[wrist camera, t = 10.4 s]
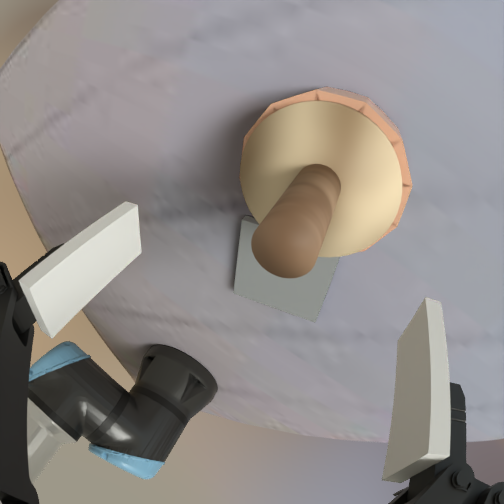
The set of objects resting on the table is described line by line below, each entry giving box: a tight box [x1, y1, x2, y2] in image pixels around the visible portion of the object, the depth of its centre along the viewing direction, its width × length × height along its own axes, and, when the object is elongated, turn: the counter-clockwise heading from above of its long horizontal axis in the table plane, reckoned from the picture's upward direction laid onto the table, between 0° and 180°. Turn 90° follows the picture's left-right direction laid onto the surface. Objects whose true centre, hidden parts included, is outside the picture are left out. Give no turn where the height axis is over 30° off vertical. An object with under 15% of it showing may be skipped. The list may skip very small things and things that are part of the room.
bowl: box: [239, 87, 412, 252], centre depth 23 cm, size 12×12×6 cm
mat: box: [233, 215, 340, 322], centre depth 33 cm, size 10×10×1 cm
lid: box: [240, 100, 402, 278], centre depth 17 cm, size 11×11×9 cm
